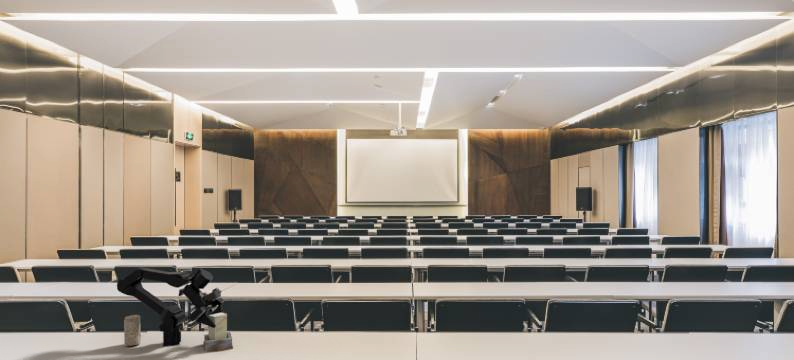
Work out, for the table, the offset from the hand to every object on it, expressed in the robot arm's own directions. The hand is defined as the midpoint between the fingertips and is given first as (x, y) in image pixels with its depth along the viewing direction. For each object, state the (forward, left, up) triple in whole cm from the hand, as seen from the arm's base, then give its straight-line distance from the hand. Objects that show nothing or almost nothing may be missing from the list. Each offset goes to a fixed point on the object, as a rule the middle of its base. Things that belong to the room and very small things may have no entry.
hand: (220, 324), depth 214 cm
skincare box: (-1, +1, -8) cm, 9 cm away
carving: (-34, +16, -9) cm, 39 cm away
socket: (-1, +1, -9) cm, 9 cm away
